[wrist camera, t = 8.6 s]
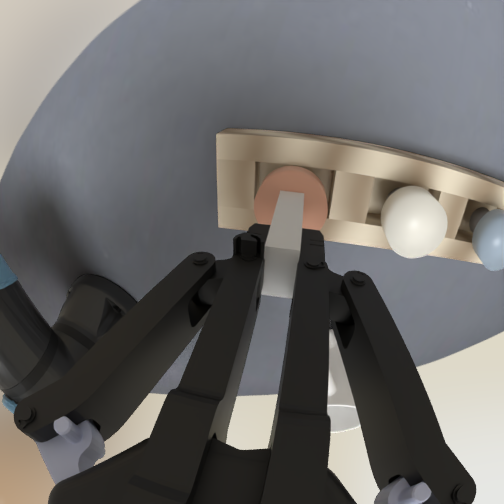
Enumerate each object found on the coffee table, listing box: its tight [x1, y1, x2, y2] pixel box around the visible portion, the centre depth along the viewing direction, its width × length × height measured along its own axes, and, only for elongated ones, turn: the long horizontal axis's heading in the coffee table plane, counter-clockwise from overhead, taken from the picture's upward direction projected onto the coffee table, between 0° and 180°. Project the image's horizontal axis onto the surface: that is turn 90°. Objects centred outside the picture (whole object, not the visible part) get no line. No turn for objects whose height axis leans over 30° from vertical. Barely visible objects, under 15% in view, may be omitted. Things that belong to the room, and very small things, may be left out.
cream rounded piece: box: [381, 186, 448, 258], centre depth 18 cm, size 5×5×4 cm
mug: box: [327, 329, 361, 433], centre depth 29 cm, size 9×12×11 cm
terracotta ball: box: [254, 166, 328, 230], centre depth 20 cm, size 5×5×4 cm
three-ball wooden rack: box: [216, 128, 504, 264], centre depth 21 cm, size 30×8×3 cm, turn 89°
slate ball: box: [469, 207, 504, 271], centre depth 17 cm, size 5×5×4 cm
